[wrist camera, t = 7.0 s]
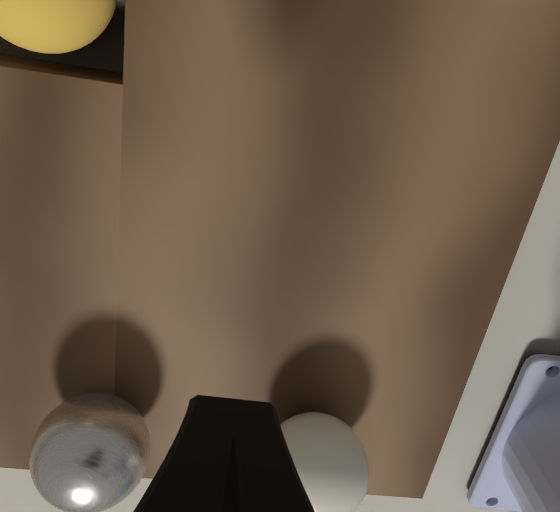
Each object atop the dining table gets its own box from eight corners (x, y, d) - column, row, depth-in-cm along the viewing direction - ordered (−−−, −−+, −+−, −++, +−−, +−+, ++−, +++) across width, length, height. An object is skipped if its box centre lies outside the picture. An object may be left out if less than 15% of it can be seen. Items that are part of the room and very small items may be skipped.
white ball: (368, 394, 18) (393, 477, 15) (347, 468, 19) (365, 558, 16) (267, 385, 18) (270, 468, 14) (253, 461, 19) (253, 551, 16)
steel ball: (161, 375, 17) (140, 458, 14) (155, 453, 19) (135, 545, 15) (51, 364, 17) (4, 448, 14) (54, 445, 18) (12, 537, 15)
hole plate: (678, -310, 12) (753, -366, 10) (408, 458, 22) (422, 498, 20) (-171, -531, 10) (-264, -650, 8) (-41, 421, 20) (-70, 462, 18)
